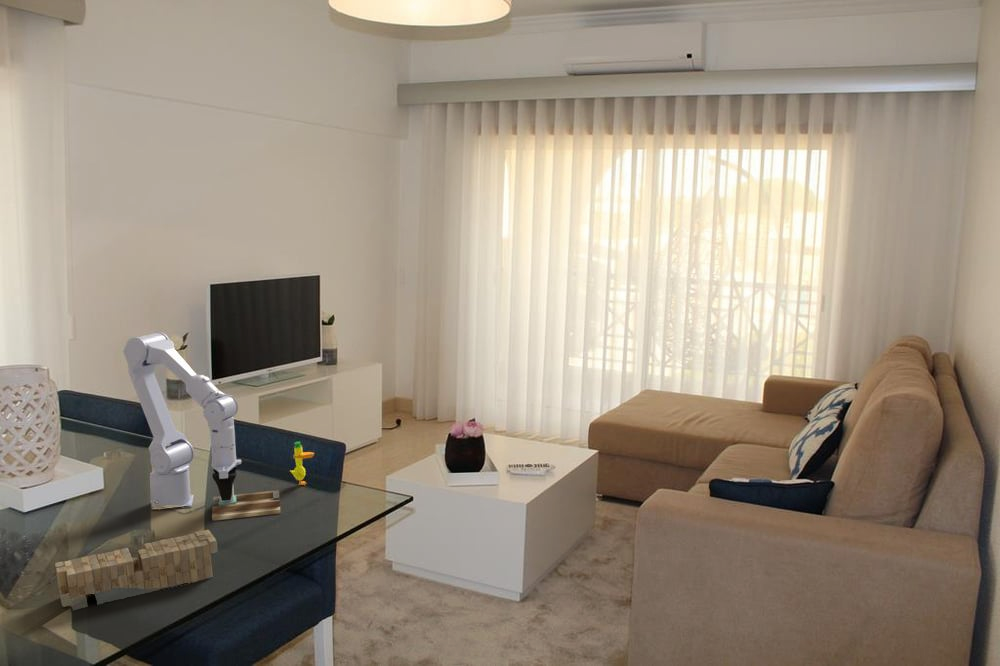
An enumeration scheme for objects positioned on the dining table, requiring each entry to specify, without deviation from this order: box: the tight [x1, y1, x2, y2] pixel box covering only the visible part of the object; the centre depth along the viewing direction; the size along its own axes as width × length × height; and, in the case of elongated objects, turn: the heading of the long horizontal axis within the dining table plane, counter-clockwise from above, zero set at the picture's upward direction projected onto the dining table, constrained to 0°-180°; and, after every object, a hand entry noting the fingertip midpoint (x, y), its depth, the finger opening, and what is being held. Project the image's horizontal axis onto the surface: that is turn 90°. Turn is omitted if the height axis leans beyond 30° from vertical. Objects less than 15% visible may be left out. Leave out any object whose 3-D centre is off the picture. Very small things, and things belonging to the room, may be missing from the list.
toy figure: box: [289, 441, 315, 486], centre depth 228 cm, size 7×4×12 cm, turn 109°
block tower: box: [54, 529, 218, 599], centre depth 169 cm, size 8×8×29 cm
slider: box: [219, 486, 237, 506], centre depth 210 cm, size 4×5×5 cm
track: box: [211, 490, 281, 521], centre depth 212 cm, size 16×12×3 cm
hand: (226, 497), depth 210 cm, fingers closed on slider, 3 cm apart
